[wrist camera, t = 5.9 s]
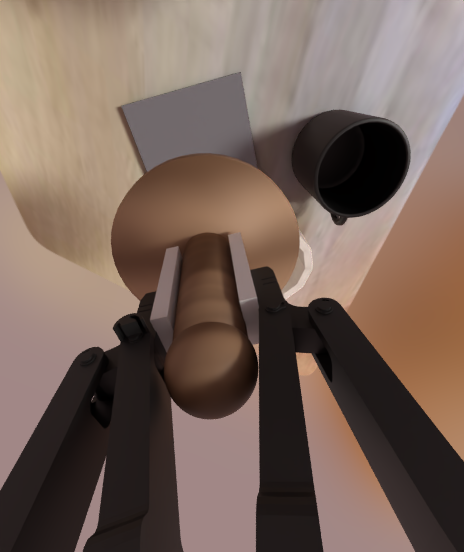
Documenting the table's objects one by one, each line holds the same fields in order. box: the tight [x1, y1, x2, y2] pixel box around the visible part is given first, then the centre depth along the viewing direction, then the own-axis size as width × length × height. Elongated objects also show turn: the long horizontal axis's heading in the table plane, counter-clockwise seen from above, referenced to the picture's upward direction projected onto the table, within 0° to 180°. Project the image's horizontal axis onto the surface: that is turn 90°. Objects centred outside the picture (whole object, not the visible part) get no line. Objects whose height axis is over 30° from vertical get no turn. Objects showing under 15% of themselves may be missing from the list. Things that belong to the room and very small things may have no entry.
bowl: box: [281, 230, 313, 300], centre depth 39 cm, size 12×12×6 cm
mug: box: [292, 110, 411, 225], centre depth 32 cm, size 9×12×9 cm
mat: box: [121, 72, 258, 172], centre depth 34 cm, size 13×13×1 cm
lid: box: [111, 153, 300, 419], centre depth 15 cm, size 12×12×12 cm
